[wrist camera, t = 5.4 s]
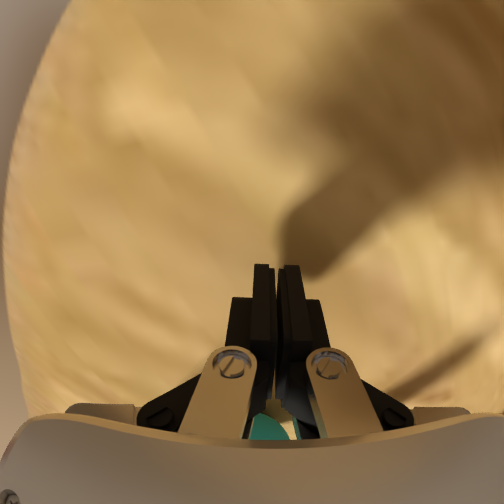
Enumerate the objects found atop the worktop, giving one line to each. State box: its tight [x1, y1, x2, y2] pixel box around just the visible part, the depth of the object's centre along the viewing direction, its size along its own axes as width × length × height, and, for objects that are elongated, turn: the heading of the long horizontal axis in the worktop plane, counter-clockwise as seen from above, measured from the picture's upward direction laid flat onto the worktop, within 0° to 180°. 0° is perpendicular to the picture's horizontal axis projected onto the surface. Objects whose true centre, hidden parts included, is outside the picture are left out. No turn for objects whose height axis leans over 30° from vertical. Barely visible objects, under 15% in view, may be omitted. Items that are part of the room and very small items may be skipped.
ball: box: [250, 413, 290, 440], centre depth 15 cm, size 6×6×6 cm
